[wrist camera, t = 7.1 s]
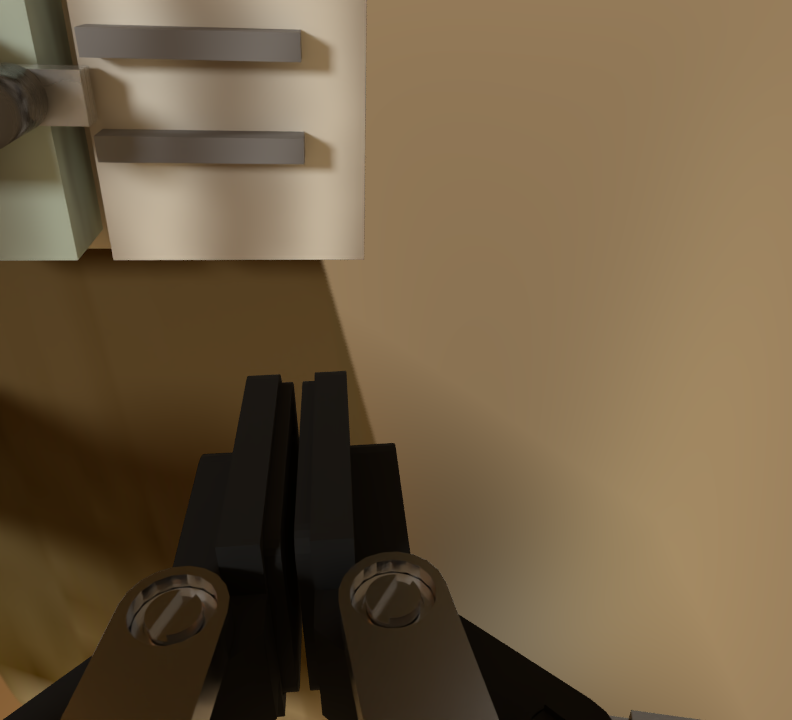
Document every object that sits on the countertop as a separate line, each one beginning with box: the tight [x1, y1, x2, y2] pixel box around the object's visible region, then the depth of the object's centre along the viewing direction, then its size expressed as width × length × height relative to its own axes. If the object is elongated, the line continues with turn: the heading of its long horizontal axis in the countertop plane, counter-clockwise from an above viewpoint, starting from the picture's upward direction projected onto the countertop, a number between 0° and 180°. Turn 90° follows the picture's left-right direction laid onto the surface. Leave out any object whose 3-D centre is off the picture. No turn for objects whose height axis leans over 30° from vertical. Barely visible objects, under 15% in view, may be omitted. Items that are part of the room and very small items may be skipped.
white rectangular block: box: [0, 0, 367, 260], centre depth 28 cm, size 20×16×9 cm
